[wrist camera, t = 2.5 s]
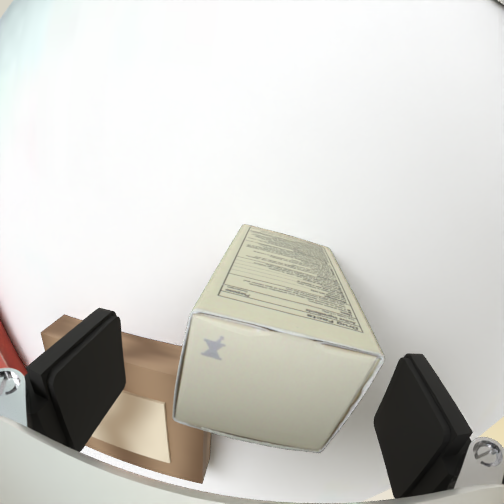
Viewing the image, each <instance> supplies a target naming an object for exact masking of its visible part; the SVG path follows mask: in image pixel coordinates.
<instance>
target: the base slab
mask: <svg viewBox="0 0 504 504" xmlns="http://www.w3.org/2000/svg"><path fill="white" fill-rule="evenodd" d="M80 322H82V320H79V319H76V318H73V317H70V316H67V315H63V316H62V317H60V318H59V319H58V320H56V321H55V322H54V323H53V324H51V325H50V326H49V327H47V328H46V329H45V330H43V331H42V332H41V336H42V340H43V345H44V349H45V351H46V350H47V349H49V348H50V347H51V346H52V345H53V344H55V343H56V342H57V341H58V340H59V339H61V338H62V337H63V336H64V335H66V334H67V333H68V332H69V331H70V330H72V329H73V328H74V327H75V326H77V325H78V324H79V323H80ZM121 335H122V347H123V357H124V366H125V375H126V384H125V388H124V389H123V391H122V392H121V394H120V395H119V397H118V398H117V399H116V401H115V402H114V404H113V405H112V407H111V408H110V410H109V411H108V412H107V414H106V415H105V417H104V418H103V420H102V421H101V423H100V424H99V426H98V427H97V428H96V430H95V431H94V433H93V434H92V436H91V437H90V439H89V440H88V442H87V443H86V445H85V446H88V447H90V448H92V449H94V450H97V451H99V452H102V453H104V454H107V455H109V456H112V457H114V458H117V459H119V460H122V461H125V462H128V463H130V464H133V465H136V466H139V467H142V468H145V469H148V470H152V471H155V472H158V473H162V474H165V475H169V476H172V477H176V478H180V479H184V480H188V481H192V482H196V483H201V484H202V483H203V480H204V476H205V473H206V469H207V466H208V462H209V459H210V442H211V433H210V432H207V431H203V430H200V429H197V428H193V427H190V426H187V425H183V424H180V423H178V422H176V421H174V420H173V418H172V413H173V399H174V390H175V383H176V377H177V371H178V366H179V361H180V355H181V351H182V346H177V345H173V344H168V343H164V342H160V341H155V340H151V339H147V338H143V337H139V336H135V335H132V334H128V333H124V332H121Z"/></svg>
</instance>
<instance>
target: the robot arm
mask: <svg viewBox="0 0 504 504" xmlns="http://www.w3.org/2000/svg"><path fill="white" fill-rule="evenodd" d="M497 1H499V2H500V3H502V4H503V5H504V0H497ZM26 369H27V372H28V373H27V374H26V375H25V376H23V374H22V373H21V372H20V371H18V370H16V369H13V368H1V369H0V504H504V448H503V447H502V446H501V445H500V444H499V443H498V442H497V441H495V440H493V439H491V438H487V437H479V438H476V439H474V440H473V441H472V442H471V440H470V438H469V437H470V436H471V434H472V433H473V432H472V430H471V428H470V427H469V425H468V423H467V422H466V420H465V418H464V417H463V415H462V414H461V412H460V410H459V409H458V407H457V405H456V404H455V402H454V401H453V399H452V398H451V396H450V394H449V393H448V391H447V390H446V388H445V387H444V385H443V384H442V382H441V380H440V379H439V377H438V376H437V374H436V373H435V371H434V370H433V368H432V367H431V365H430V364H429V363H428V361H427V360H426V358H425V357H424V355H423V354H406V355H405V356H404V358H400V360H399V361H398V364H397V366H396V369H395V371H394V374H393V376H392V379H391V381H390V384H389V386H388V388H387V390H386V393H385V395H384V397H383V399H382V402H381V404H380V406H379V408H378V410H377V412H376V415H375V417H374V427H375V431H376V434H377V437H378V441H379V444H380V448H381V451H382V455H383V458H384V462H385V465H386V469H387V473H388V477H389V480H390V484H391V488H392V492H393V495H394V497H395V498H396V499H390V500H382V501H381V500H380V501H370V502H356V503H288V502H274V501H263V500H254V499H245V498H238V497H231V496H225V495H219V494H214V493H208V492H203V491H199V490H194V489H189V488H185V487H181V486H177V485H173V484H169V483H165V482H162V481H158V480H155V479H151V478H148V477H145V476H141V475H138V474H135V473H132V472H129V471H126V470H123V469H121V468H118V467H115V466H112V465H110V464H107V463H105V462H102V461H100V460H97V459H95V458H92V457H90V456H88V455H85V454H83V453H80V451H81V450H82V449H83V448H84V446H85V445H86V443H87V442H88V440H89V439H90V437H91V436H92V434H93V433H94V431H95V430H96V428H97V427H98V426H99V424H100V423H101V421H102V420H103V418H104V417H105V415H106V414H107V412H108V411H109V410H110V408H111V407H112V405H113V404H114V402H115V401H116V399H117V398H118V397H119V395H120V394H121V392H122V391H123V389H124V388H125V384H126V375H125V366H124V357H123V347H122V335H121V322H120V318H119V317H117V316H116V313H115V312H114V311H110V310H106V309H102V308H98V309H97V310H95V311H94V312H93V313H92V314H90V315H89V316H88V317H87V318H85V319H84V320H83V321H82V322H80V323H79V324H78V325H77V326H75V327H74V328H73V329H72V330H70V331H69V332H68V333H67V334H66V335H64V336H63V337H62V338H61V339H59V340H58V341H57V342H56V343H55V344H53V345H52V346H51V347H50V348H49V349H47V350H46V351H45V352H44V353H43V354H41V355H40V356H39V357H38V358H37V359H36V360H34V361H33V362H32V363H31V364H30V365H29V366H27V367H26Z"/></svg>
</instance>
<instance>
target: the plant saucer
mask: <svg viewBox="0 0 504 504" xmlns="http://www.w3.org/2000/svg"><path fill="white" fill-rule="evenodd" d="M1 368H13V369H16V370H18V371H20V372H21V373H22V374H23V376H25V375H26V374H27V373H28V372H27V370H26V368H25V366H24V365H23V363H22V361H21V359H20V358H19V356H18V354H17V352H16V350H15V348H14V346H13V344H12V343H11V341H10V339H9V337H8V334H7V332H6V330H5V328H4V326H3V324H2V322H1V320H0V369H1Z"/></svg>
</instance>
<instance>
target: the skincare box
mask: <svg viewBox="0 0 504 504" xmlns="http://www.w3.org/2000/svg"><path fill="white" fill-rule="evenodd" d="M384 361H385V356H384V354H383V352H382V350H381V348H380V346H379V344H378V342H377V340H376V338H375V335H374V333H373V331H372V329H371V327H370V325H369V323H368V321H367V319H366V317H365V315H364V313H363V311H362V309H361V307H360V305H359V303H358V301H357V299H356V298H355V296H354V293H353V291H352V290H351V288H350V286H349V284H348V282H347V280H346V278H345V276H344V275H343V273H342V271H341V269H340V267H339V265H338V263H337V261H336V260H335V258H334V256H333V254H332V252H331V250H330V249H329V248H327V247H325V246H322V245H318V244H315V243H312V242H309V241H306V240H302V239H299V238H296V237H292V236H289V235H285V234H282V233H278V232H274V231H270V230H266V229H263V228H259V227H254V226H250V225H246V224H244V225H242V226H241V228H240V230H239V231H238V233H237V235H236V236H235V238H234V240H233V241H232V243H231V245H230V246H229V248H228V249H227V251H226V253H225V255H224V256H223V258H222V260H221V262H220V263H219V265H218V267H217V268H216V270H215V272H214V273H213V275H212V277H211V279H210V281H209V282H208V284H207V286H206V287H205V289H204V291H203V292H202V294H201V296H200V298H199V299H198V301H197V302H196V304H195V306H194V307H193V309H192V311H191V313H190V316H189V320H188V324H187V328H186V332H185V336H184V341H183V346H182V351H181V355H180V361H179V366H178V371H177V377H176V383H175V390H174V399H173V413H172V418H173V420H174V421H176V422H178V423H180V424H183V425H187V426H190V427H193V428H197V429H200V430H203V431H207V432H210V433H214V434H217V435H221V436H225V437H229V438H232V439H237V440H241V441H245V442H249V443H255V444H260V445H265V446H269V447H277V448H282V449H287V450H297V451H306V452H315V453H320V452H322V451H323V450H324V449H325V447H326V446H327V445H328V443H329V442H330V441H331V440H332V439H333V437H334V436H335V435H336V434H337V432H338V431H339V430H340V429H341V427H342V426H343V424H344V423H345V422H346V421H347V419H348V418H349V416H350V415H351V414H352V412H353V411H354V409H355V408H356V406H357V405H358V403H359V402H360V401H361V399H362V398H363V396H364V394H365V393H366V391H367V390H368V388H369V387H370V385H371V383H372V382H373V380H374V378H375V377H376V375H377V373H378V371H379V370H380V368H381V367H382V365H383V363H384Z"/></svg>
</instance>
